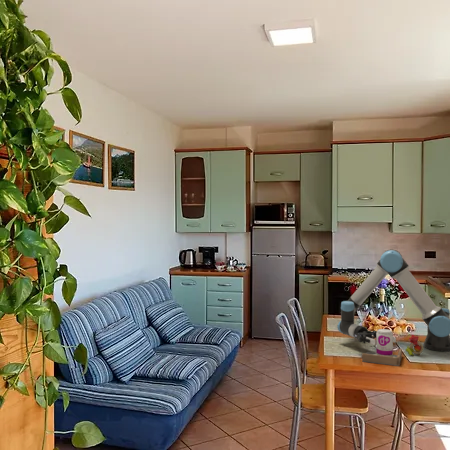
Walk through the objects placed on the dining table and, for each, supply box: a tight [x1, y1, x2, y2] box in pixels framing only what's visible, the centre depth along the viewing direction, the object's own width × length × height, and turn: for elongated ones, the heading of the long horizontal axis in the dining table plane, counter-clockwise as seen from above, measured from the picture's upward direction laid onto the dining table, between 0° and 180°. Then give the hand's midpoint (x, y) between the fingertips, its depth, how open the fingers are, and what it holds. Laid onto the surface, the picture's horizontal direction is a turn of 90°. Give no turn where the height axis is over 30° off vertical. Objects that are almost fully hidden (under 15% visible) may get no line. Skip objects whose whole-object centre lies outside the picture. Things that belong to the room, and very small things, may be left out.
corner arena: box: [361, 348, 403, 367], centre depth 238 cm, size 18×18×4 cm
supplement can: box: [375, 328, 394, 357], centre depth 236 cm, size 8×8×15 cm
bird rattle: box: [405, 334, 425, 357], centre depth 245 cm, size 6×11×9 cm
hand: (385, 341), depth 235 cm, fingers open, 13 cm apart
